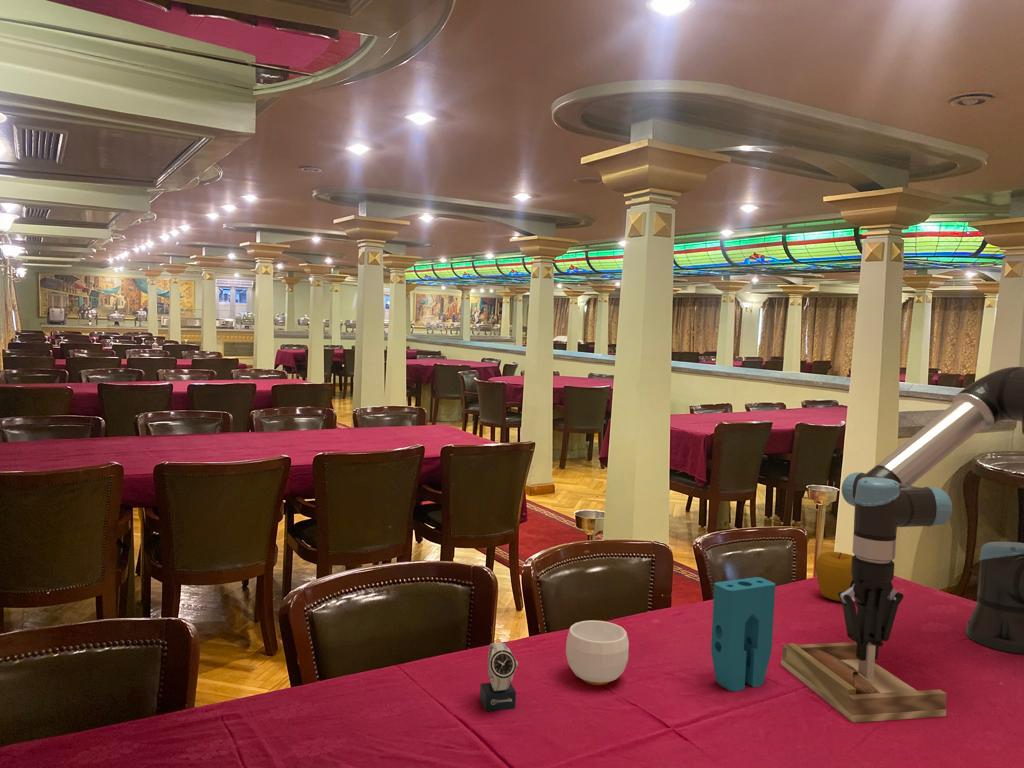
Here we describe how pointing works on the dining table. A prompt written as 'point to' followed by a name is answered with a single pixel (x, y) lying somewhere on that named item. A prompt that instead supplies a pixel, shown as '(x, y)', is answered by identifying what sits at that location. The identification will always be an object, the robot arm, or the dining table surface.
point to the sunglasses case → (843, 671)
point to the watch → (499, 679)
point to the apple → (834, 573)
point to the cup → (597, 651)
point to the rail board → (886, 705)
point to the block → (742, 631)
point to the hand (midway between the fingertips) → (865, 675)
